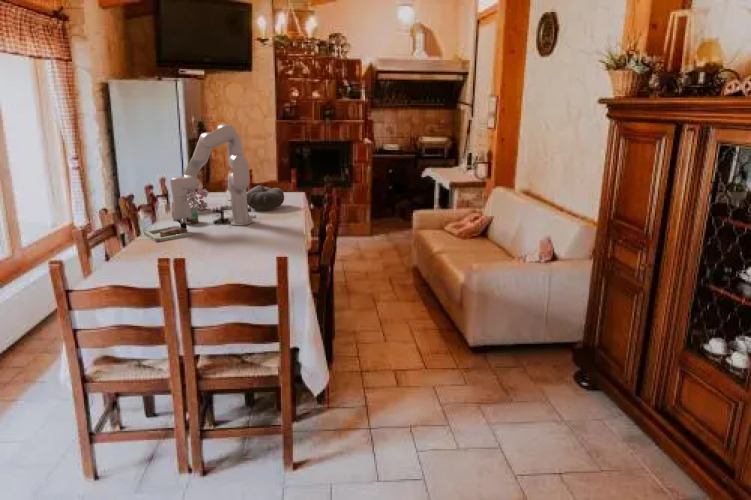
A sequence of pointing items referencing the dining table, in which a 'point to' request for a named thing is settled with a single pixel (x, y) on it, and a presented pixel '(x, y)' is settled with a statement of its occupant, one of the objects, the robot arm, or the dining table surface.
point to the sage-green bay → (166, 236)
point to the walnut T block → (173, 231)
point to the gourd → (265, 198)
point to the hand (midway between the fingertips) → (183, 229)
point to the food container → (193, 215)
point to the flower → (193, 197)
